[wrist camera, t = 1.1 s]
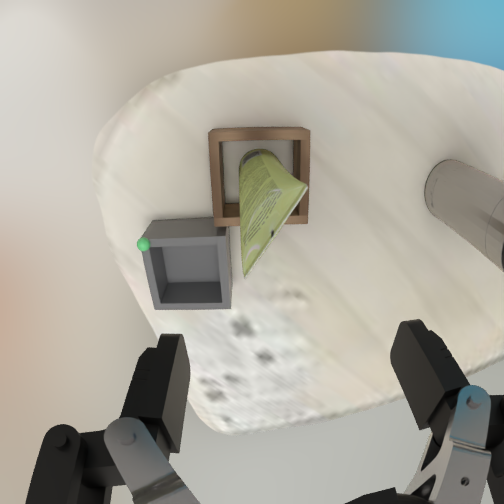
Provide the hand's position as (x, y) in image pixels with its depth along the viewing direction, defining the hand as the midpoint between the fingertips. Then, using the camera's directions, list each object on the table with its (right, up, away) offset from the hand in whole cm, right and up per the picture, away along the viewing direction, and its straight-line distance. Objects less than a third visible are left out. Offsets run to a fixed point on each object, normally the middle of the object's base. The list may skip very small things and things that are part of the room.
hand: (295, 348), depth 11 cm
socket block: (-9, +3, +31) cm, 33 cm away
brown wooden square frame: (-1, +13, +26) cm, 29 cm away
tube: (-1, +13, +26) cm, 30 cm away
